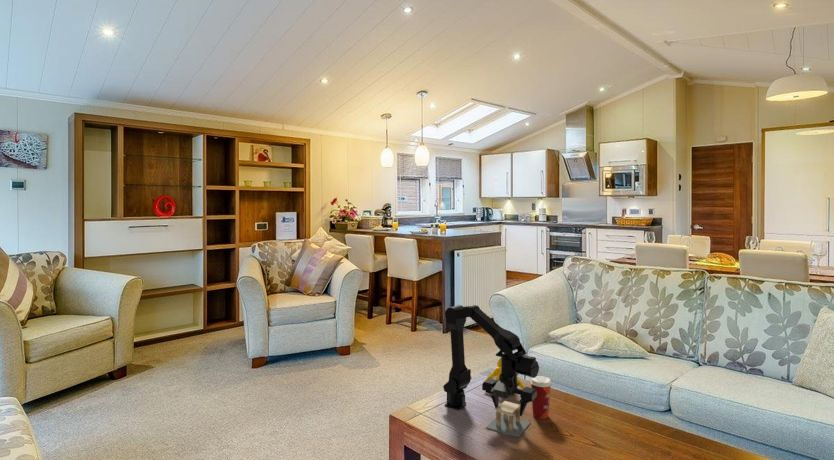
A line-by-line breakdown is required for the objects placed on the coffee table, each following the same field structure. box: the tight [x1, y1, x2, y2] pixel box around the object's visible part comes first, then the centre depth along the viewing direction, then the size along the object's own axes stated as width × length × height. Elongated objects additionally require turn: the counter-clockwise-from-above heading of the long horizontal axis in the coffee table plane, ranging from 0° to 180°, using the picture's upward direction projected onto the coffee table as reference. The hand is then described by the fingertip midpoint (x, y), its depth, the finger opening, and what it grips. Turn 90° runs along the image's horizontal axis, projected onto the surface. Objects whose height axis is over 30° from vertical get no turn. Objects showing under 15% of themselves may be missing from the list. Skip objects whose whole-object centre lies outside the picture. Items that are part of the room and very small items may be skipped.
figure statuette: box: [483, 357, 526, 389], centre depth 192 cm, size 18×8×22 cm, turn 70°
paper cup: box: [530, 375, 552, 420], centre depth 171 cm, size 8×8×14 cm
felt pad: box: [485, 413, 531, 439], centre depth 164 cm, size 12×12×1 cm
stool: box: [495, 400, 521, 431], centre depth 164 cm, size 8×6×7 cm
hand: (508, 412), depth 164 cm, fingers open, 9 cm apart
